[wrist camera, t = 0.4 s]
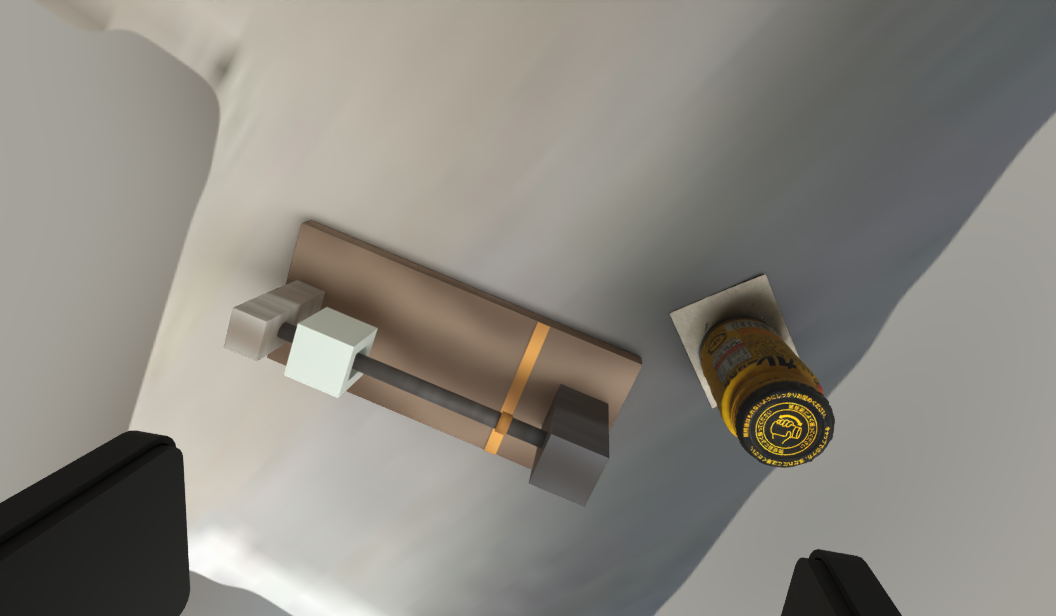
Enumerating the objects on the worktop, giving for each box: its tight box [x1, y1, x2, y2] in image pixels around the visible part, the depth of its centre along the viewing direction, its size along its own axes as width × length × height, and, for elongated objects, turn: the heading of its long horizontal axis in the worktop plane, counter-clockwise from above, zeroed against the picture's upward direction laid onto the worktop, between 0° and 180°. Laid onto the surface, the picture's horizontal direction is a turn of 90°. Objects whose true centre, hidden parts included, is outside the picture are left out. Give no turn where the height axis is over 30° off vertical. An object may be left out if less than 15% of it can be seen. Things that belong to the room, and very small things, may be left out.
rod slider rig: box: [224, 221, 642, 507], centre depth 41 cm, size 12×28×10 cm, turn 69°
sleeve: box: [284, 307, 378, 398], centre depth 39 cm, size 4×4×4 cm
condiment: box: [670, 275, 835, 468], centre depth 37 cm, size 7×8×12 cm
